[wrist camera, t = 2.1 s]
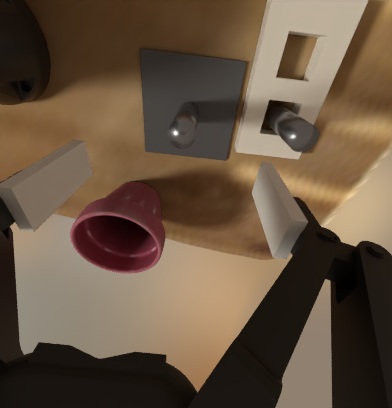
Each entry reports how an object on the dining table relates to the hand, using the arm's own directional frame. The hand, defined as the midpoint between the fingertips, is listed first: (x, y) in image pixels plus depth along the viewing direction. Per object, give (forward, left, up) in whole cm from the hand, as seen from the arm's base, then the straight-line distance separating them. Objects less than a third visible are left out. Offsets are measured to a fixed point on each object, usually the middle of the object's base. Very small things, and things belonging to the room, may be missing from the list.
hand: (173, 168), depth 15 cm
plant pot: (-9, -18, -19) cm, 28 cm away
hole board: (+13, +5, -19) cm, 23 cm away
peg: (0, 0, -19) cm, 19 cm away
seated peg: (+13, +1, -19) cm, 23 cm away
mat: (0, 0, -19) cm, 19 cm away
